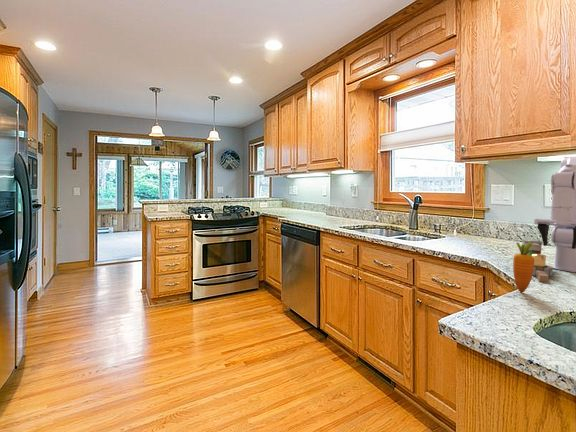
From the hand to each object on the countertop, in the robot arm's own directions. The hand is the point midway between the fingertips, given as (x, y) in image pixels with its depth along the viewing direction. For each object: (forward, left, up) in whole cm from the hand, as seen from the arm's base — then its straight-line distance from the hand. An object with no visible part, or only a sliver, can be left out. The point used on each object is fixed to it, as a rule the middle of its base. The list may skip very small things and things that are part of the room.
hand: (559, 247), depth 112 cm
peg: (+2, -5, -10) cm, 12 cm away
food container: (-6, -11, -11) cm, 16 cm away
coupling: (+5, -6, -10) cm, 13 cm away
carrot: (+31, +3, -11) cm, 33 cm away
